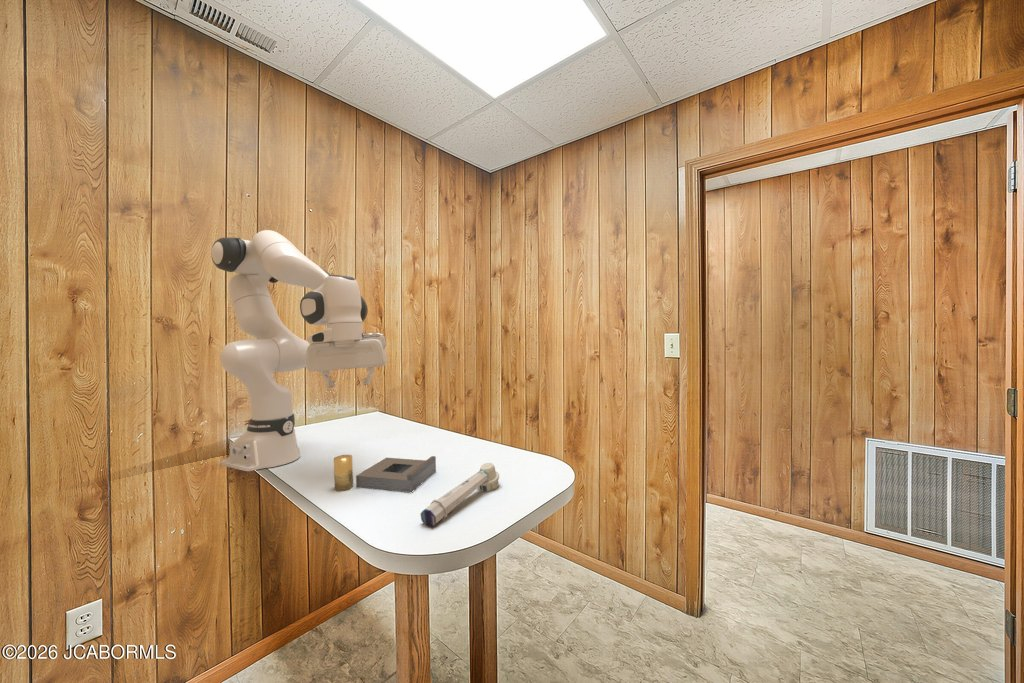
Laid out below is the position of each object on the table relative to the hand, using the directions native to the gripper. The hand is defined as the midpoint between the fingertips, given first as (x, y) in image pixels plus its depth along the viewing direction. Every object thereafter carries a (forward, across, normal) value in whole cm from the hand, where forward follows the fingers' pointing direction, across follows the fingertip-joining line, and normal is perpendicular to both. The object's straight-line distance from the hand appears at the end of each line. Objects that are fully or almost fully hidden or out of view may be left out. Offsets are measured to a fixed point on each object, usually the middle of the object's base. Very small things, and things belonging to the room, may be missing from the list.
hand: (349, 385), depth 99 cm
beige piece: (+29, -30, +14) cm, 44 cm away
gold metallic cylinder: (+26, +2, +2) cm, 26 cm away
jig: (+27, -11, -2) cm, 29 cm away
